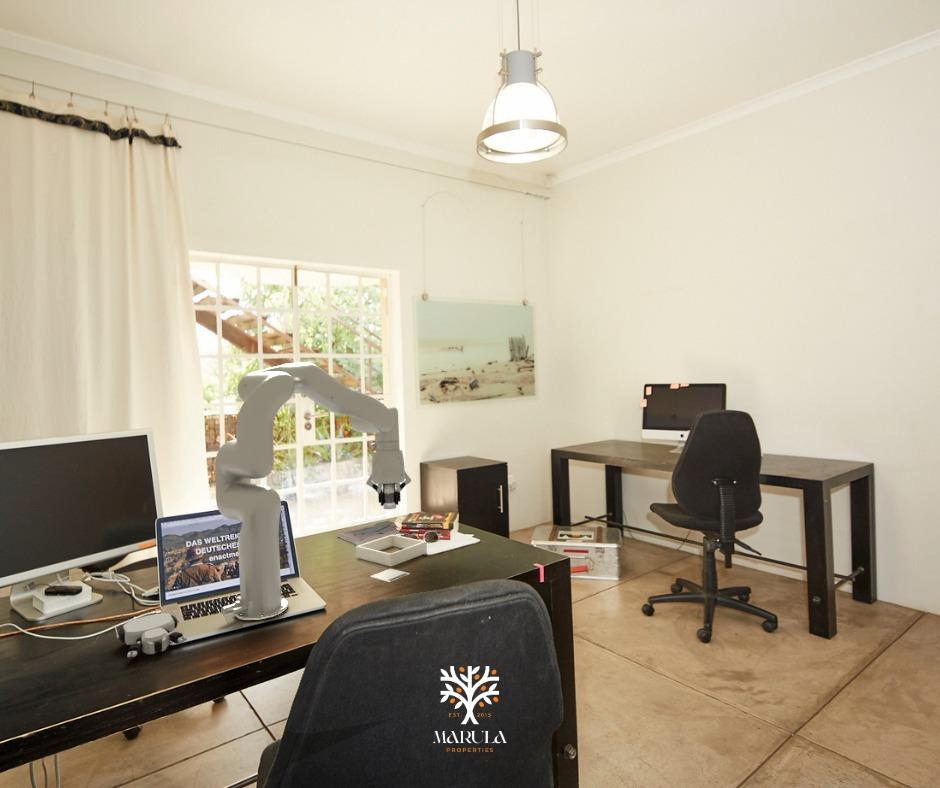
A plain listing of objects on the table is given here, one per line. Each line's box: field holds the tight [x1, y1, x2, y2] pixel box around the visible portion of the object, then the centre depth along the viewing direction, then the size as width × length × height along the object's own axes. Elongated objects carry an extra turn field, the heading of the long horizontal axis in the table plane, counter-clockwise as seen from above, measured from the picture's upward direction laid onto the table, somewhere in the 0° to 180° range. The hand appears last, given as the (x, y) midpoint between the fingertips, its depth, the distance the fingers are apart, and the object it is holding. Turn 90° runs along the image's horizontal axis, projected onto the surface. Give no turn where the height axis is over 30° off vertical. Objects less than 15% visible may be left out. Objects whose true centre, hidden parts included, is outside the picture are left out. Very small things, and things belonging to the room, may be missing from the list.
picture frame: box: [336, 520, 399, 546], centre depth 209 cm, size 16×2×22 cm
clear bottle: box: [382, 483, 397, 510], centre depth 181 cm, size 4×4×9 cm
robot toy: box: [114, 610, 188, 658], centre depth 127 cm, size 12×4×15 cm
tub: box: [355, 534, 428, 567], centre depth 182 cm, size 16×16×4 cm
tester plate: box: [369, 568, 411, 583], centre depth 164 cm, size 8×8×1 cm
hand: (389, 503), depth 181 cm, fingers closed on clear bottle, 4 cm apart
